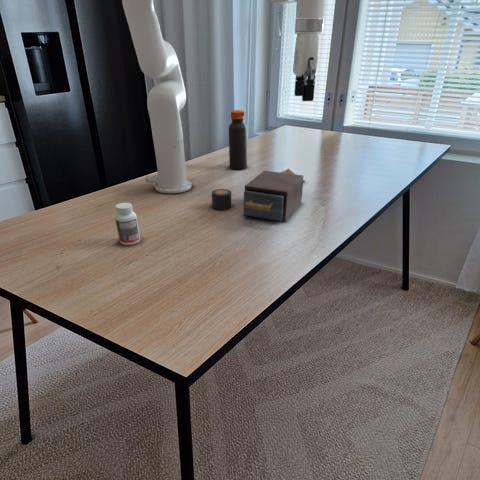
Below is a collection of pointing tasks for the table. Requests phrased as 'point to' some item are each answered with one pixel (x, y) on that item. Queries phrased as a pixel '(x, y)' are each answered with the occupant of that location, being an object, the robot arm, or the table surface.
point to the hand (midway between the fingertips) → (303, 98)
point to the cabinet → (280, 189)
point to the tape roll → (221, 199)
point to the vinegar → (237, 141)
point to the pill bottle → (127, 224)
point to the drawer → (263, 204)
